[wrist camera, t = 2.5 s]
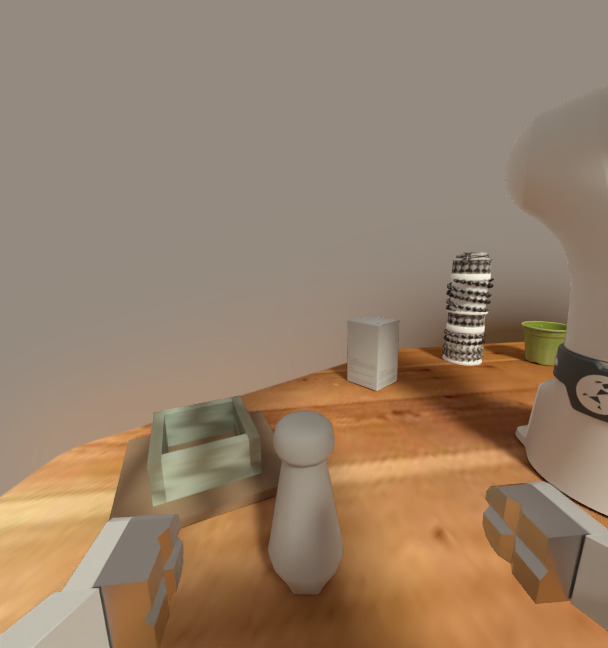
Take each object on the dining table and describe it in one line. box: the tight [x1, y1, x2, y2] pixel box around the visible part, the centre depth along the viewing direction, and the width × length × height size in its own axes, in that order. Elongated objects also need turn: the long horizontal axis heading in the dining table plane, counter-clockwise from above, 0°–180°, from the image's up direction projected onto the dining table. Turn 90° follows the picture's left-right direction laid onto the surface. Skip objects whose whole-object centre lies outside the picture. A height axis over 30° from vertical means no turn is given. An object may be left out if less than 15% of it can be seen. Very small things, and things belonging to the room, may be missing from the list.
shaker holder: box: [109, 396, 282, 528], centre depth 35 cm, size 18×16×6 cm
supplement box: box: [347, 316, 399, 391], centre depth 58 cm, size 7×7×13 cm
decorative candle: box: [442, 252, 494, 366], centre depth 68 cm, size 9×9×25 cm
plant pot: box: [522, 321, 567, 366], centre depth 67 cm, size 9×9×9 cm
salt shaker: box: [268, 410, 343, 595], centre depth 22 cm, size 6×6×13 cm
